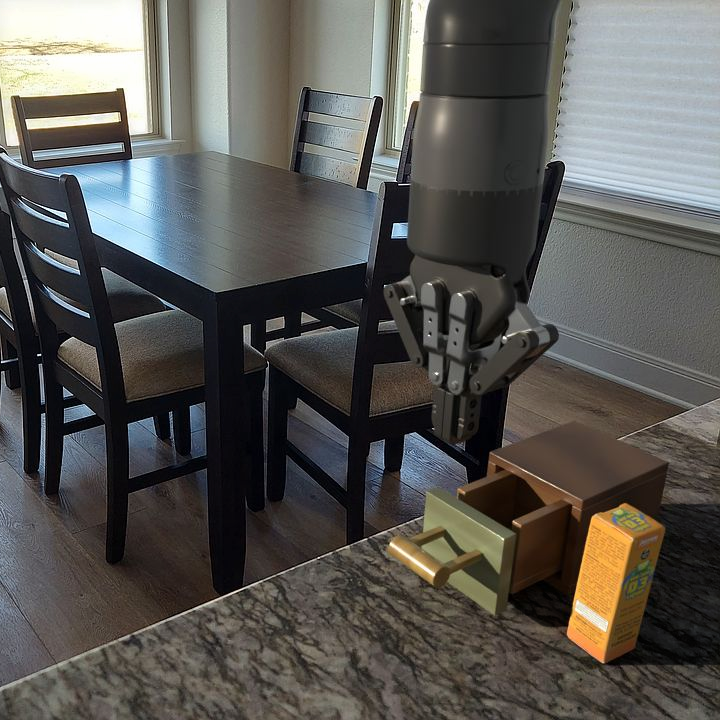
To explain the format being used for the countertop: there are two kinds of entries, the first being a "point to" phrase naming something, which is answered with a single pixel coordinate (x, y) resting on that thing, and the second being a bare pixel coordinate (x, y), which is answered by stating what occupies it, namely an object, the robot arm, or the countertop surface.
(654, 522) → the supplement box
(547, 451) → the cabinet
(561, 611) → the countertop surface
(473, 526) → the drawer
